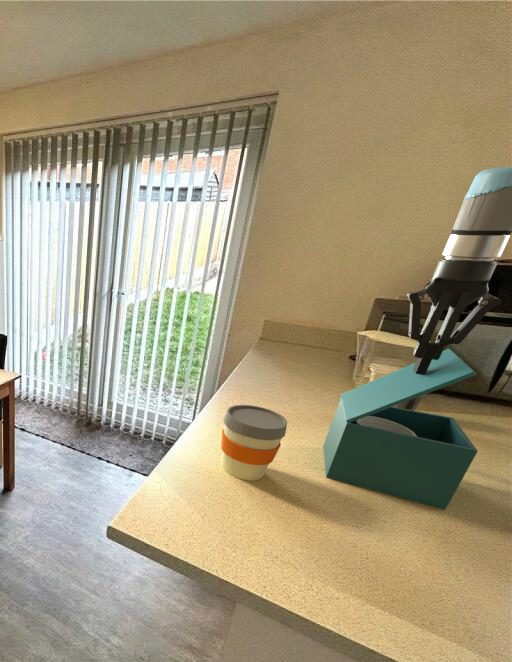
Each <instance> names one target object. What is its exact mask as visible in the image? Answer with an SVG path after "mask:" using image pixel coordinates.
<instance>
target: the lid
mask: <svg viewBox="0 0 512 662" xmlns="http://www.w3.org/2000/svg"><path fill="white" fill-rule="evenodd" d="M415 363H416V362H413V363H411V364H409V365H406V366H404V367H402V368H400V369H397V370H395V371H392V372H390V373H387V374H386V375H383V376H381V377H378V378H376V379H374V380H372V381H369V382H366V383H364V384H361V385H359V386H357V387H355V388H352V389H350V390H347V391H345V392H343V393H341V394H340V399H341V398H342V403H343V407H344V412H345V416H346V421H347V422H348V423H350V422H353V421H356V420H358V419H361V418H364V417H366V416H369V415H372V414H374V413H377V412H379V411H382V410H385V409H387V408H390V407H393V406H395V405H398V404H401V403H403V402H406V401H409V400H411V399H414V398H416V397H419V396H422V395H424V394H425V395H427V394H430V393H433V392H435V391H439V390H441V389H443V388H446V387H448V386H451V385H453V384H456V383H459V382H461V381H464V380H467V379H469V378H472V377H475V376H477V373H476V372H475V371H474V370H473V369H472V368H471V367H470V366H469V365H468V364H467V363H465V362H464V361H463V360H462V358H460V357H459V356H458V355H457V354H456V353H455V352H454V351H452V349H451V348H447V349H444V350H443V352H442V354H441V356H440V358H439V359H438V360H432V361H431V363H430V365H429V367H428V370H427V372H426V374H425V375H420V374H415V373H414V371H413V368H414V366H415ZM425 395H424V396H425Z"/></svg>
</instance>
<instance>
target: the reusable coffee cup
mask: <svg viewBox="0 0 512 662" xmlns="http://www.w3.org/2000/svg"><path fill="white" fill-rule="evenodd" d="M223 424H224V428H222V430H221V443H220V449H221V451H222V454H221V468H222V469H223V471H225V472H226V473H227V474H229V475H231V476H233V477H235V478H237V479H240V480H243V481H258V480H260V479H262V478H263V477H264V474H265V473H266V471H267V469H268V467H269V465H270V464H271V463H273V461H274V459H275V458H276V455H277V453H278V452H279V450H280V448H281V444H282V443H281V442H282V439H283V438H285V436H286V433H287V426H288V420H287V419H286V418H285V417H284V416H283V415H282V414H280V413H278V412H276V411H274V410H272V409H269V408H266V407H262V406H258V405H251V404H235V405H232V406H230V407H228V408H227V410H226V413H225V415H224V418H223Z"/></svg>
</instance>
